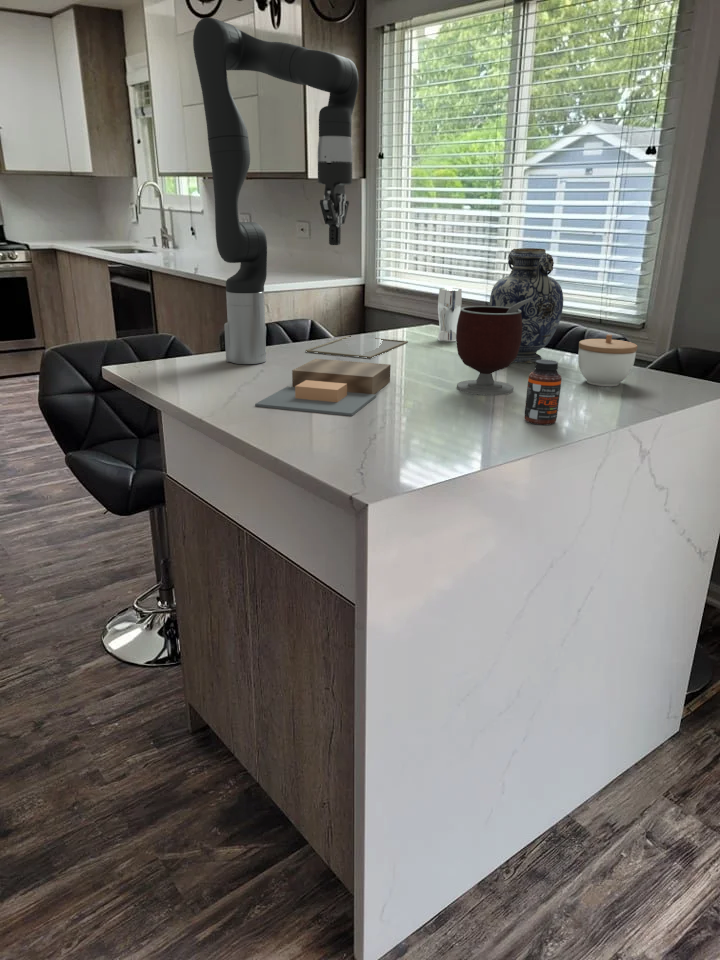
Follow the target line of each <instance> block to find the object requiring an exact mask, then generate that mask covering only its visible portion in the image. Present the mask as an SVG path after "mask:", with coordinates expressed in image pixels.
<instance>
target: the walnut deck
mask: <svg viewBox="0 0 720 960" xmlns="http://www.w3.org/2000/svg"><path fill="white" fill-rule="evenodd" d="M291 374H292V376H291V377H292V378H291V379H292V381H291V382H292V386H291V387H295V386H296V385H298V384H300V383H302V382H304V381H305V380H311V381H323V382H334V383H345V384H347V392H354V393H365V394H377V393H378V392H379V391H380V390H382V389H383V388H385V387H386V386H387V385H388V384H389V383H391V364H388V363H387V364H386V363H376V362H362V361H352V360H351V361H350V360H349V361H348V360H337V359H323V358H314V359H312V360H310V361H308V362H306V363H304V364H302V365H300V366H298V367H296V368H294V369H292V370H291Z"/></svg>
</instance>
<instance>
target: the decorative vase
mask: <svg viewBox="0 0 720 960" xmlns="http://www.w3.org/2000/svg"><path fill="white" fill-rule="evenodd" d="M546 251H547V250H546V249H545V248H534V247H533V248H532V247H524V248H523V247H522V248H513V249H511V250H510V252H509V253H508V257H507V264H508V267H509V269H510V270H511V271H510V273H509V274H508V275H507V276H504V277H502V278H500V279H499V280H497V281H496V283H495V284H494V285H493V287H492V289H491V292H490V297H489V306H498V307H509V308H511V307H512V306H513V305H515V304H517V303H519V302H521V301H524V300H526V299H530V298H533V302H528V303H526V304H524V305H523V306H521V307H520V308H519V310H521V316H522V339H521V344H520V348H519V352H518V355H517V357H516V359H515V360H514V361H513V362H512V363H517V364H518V363H519V364H520V363H521V364H532V363H533V364H534V363H535V364H536V361H537V360H543V359H542V356H541V355H540V354H539V353H537V352H538V351H540V350H541V349H543V348H545V347H546V346H547V345H548V344H549V343H550V342H551V339H552V338H553V336H554V335H555V332H556V331H557V329H558V326H559V324H560V321H561V318H562V313H563V308H564V294H563V293H564V291H563V289H562V286H561V284H560V283H559V282H558V281H557V280H556V279H555V278H553V277H551V276H549V275H550V274H551V273H552V271H553V270H554V263H555V262H554V258H553V255H552V254H550V253H547V252H546Z"/></svg>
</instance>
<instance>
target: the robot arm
mask: <svg viewBox="0 0 720 960" xmlns="http://www.w3.org/2000/svg"><path fill="white" fill-rule="evenodd" d="M192 38H193V39H192V46H193V53H194V58H195V65H196V70H197V73H198V77H199V78H198V79H199V83H200V89H201V94H202V101H203V102H202V103H203V106H204V108H203V109H204V114H205V122H206V131H207V132H206V133H207V140H208V141H207V142H208V144H207V145H208V151H209V159H210V160H209V161H210V166H211V172H212V174H211V175H212V183H213V195H214V220H215V223H214V224H215V227H214V228H215V239H216V240H215V241H216V247H217V251H218V254H219V256H220V258H221V259H222V261H224V262H225V263H228V264H236V263H237V264H238V263H240V267H239V269H238V271H237V272H236V273H234V274H233V275H232V276H230V277H228V278H227V279H226V281H225V294H226V295H225V297H226V313H227V315H226V316H227V321H226V322H225V323H224V344H225V361H226V362H229V363H232V364H236V365H237V364H238V365H256V364H263V363H265V362H266V361H267V351H266V349H267V346H266V345H267V343H266V317H265V316H266V313H265V311H266V310H265V309H266V308H265V283H266V280H267V277H268V275H267V272H268V271H267V269H268V267H267V265H268V264H267V263H268V240H267V236H266V232H265V230H264V227H262V225H260V224H259V223H257V222H255V221H251V222H250V221H240V217H239V197H240V192H241V190H242V187H243V184H244V183H245V180H246V178H247V175H248V172H249V168H250V165H251V152H250V151H251V150H250V143H249V134H248V129H247V126H246V123H245V121H244V118H243V116H242V114H241V112H240V110H239V107H238V106H237V104H236V102H235V99H234V97H233V94H232V92H231V89H230V86H229V80H228V73H227V71H247V72H248V71H249V72H250V71H251V72H258V73H262V74H265V75H268V76H270V77H273V78H275V79H277V80H278V79H279V80H281V81H285V82H289V83H291V84H292V83H293V84H296V85H300V86H301V85H302V86H307V87H310V88H313V89H317V90H319V91H322V92H327V93H329V97H328V103H327V105H325V106H323V107H321V109H320V110H319V112H318V143H317V182H318V184H319V185H324V191H323V199H320V201H319V205H320V210H321V213H322V217H323V221H324V225H327V227H328V244H329V245H330V246H340V245H341V238H342V237H341V236H342V235H341V228H342V226H343V225H344V224H345V222H346V218H347V213H348V210H349V206H350V201H349V200H347V194H346V188H345V186H346V185H347V186H348V185H349V186H350V185H352V183H353V156H354V155H353V151H354V150H353V143H352V141H353V140H352V134H353V133H352V130H353V126H352V123H353V122H352V116H353V111H354V109H355V105H356V99H357V96H358V95H357V94H358V91H359V90H358V89H359V72H358V69H357V66H356V64H355V63H354V61H352V60H351V59H350V58H348V57H346V56H345V57H344V56H342V55H339V54H336V53H332V52H328V51H323V50H317V49H311V48H307V47H304V46H300V45H296V44H292V43H288V42H287V43H286V42H282V41H281V42H280V41H267V40H263V39H259V38H257V37H254V36H252V35H251V34H248V33H246V32H244V31H243V30H241V29H239V28H238V27H236V26H235V25H232V24H230V23H228V22H225V21H223V20H219V19H216V18H213V17H203V18H202V19H200V20H199V21H198V22H197V23H196V25H195V28H194V31H193V37H192Z"/></svg>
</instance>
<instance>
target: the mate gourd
mask: <svg viewBox="0 0 720 960" xmlns="http://www.w3.org/2000/svg"><path fill="white" fill-rule="evenodd" d="M528 302H533V298H530V299H526V300H524V301H521V302H519V303H517V304H515V305H513V306H512V307H511V308H509V307H498V306H490V305H473V306H472V305H471V306H463V307H462V306H461V309H460V310H461V311H460V314H459V318H458V323H457V330H456V341H455V343H456V351H457V355H458V357H459V359H460V361H462V363H463V364H464V365H465V366H466V367H468V368H471V369H473V370H475V371H476V372H478V373H479V375H478V376H477V379H467V380H462V381H460V382H457V383H456V389H457V390H458V391H460V392H463V393H466V394H471V395H477V394H478V396H503V395H508V393H509V394H511V393H513V392H512V391H513V390H514V386H513V385H512V384H509V383H507V382H504V381H499V380H494V377H493V373H495V372H497V371H500V370H503V369H506V368H508V367H510V366H511V364H512V363H514V362H513V361H514V360H515V359H516V357H517V355H518V352H519V348H520V344H521V339H522V316H521V310H519V308H520V307H521V306H523V305H524V304H526V303H528Z"/></svg>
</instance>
